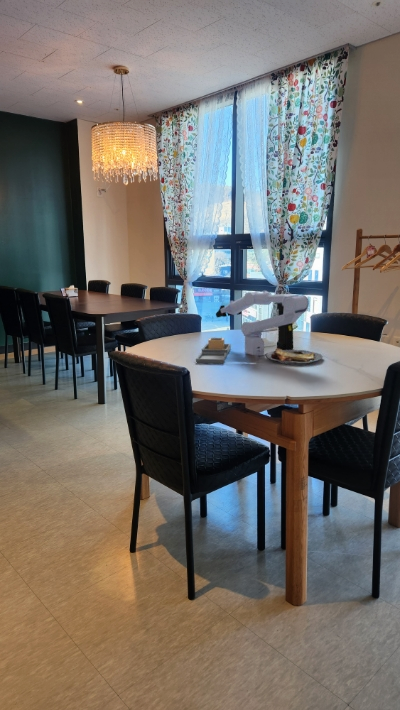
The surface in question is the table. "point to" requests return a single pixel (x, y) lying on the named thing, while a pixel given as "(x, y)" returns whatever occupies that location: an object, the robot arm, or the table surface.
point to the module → (216, 343)
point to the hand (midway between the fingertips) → (222, 314)
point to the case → (226, 350)
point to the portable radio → (284, 333)
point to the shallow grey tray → (211, 358)
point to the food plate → (293, 356)
